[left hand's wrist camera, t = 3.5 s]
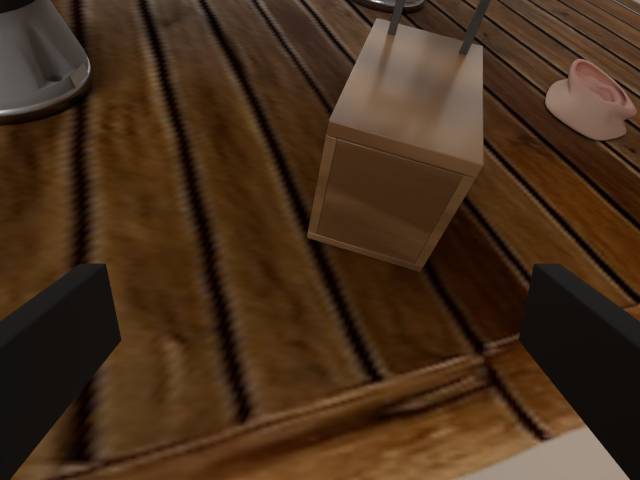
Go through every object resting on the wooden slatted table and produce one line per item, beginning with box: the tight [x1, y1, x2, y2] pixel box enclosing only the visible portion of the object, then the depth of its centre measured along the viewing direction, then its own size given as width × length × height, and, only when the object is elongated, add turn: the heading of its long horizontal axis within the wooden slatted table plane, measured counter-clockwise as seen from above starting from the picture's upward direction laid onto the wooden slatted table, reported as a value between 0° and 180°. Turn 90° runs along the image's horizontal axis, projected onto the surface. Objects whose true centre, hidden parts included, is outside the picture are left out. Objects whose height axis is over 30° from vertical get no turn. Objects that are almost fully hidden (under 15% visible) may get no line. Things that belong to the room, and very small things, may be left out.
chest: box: [307, 135, 475, 272], centre depth 35 cm, size 17×10×10 cm, turn 165°
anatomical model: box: [545, 59, 637, 141], centre depth 53 cm, size 13×4×12 cm
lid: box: [327, 0, 490, 177], centre depth 28 cm, size 18×10×8 cm, turn 165°
